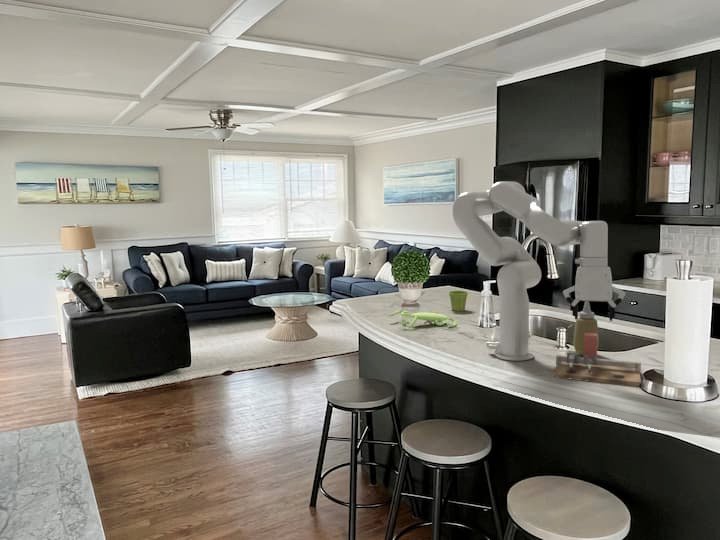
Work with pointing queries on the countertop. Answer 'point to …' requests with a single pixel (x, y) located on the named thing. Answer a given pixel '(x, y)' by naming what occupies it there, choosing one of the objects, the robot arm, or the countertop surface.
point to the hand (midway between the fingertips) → (593, 319)
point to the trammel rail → (574, 358)
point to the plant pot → (458, 300)
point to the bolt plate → (599, 373)
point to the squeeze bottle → (584, 328)
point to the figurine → (425, 318)
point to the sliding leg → (590, 350)
